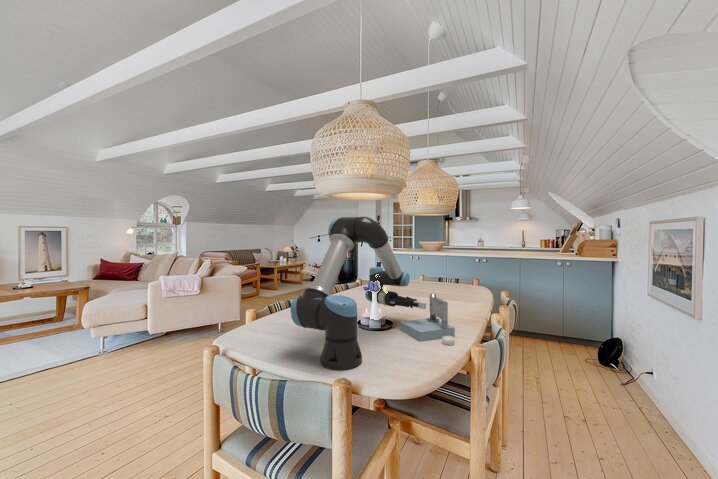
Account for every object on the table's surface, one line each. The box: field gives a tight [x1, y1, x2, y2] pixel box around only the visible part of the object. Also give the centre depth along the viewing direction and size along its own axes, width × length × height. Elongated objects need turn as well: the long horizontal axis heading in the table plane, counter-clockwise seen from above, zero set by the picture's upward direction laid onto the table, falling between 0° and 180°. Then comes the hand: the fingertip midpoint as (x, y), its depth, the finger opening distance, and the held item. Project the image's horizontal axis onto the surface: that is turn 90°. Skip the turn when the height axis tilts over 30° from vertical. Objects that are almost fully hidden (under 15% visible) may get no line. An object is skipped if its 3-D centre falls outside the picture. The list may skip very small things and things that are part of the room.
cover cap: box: [441, 336, 455, 346], centre depth 131 cm, size 5×5×2 cm
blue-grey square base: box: [399, 317, 456, 342], centre depth 145 cm, size 18×18×5 cm
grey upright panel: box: [429, 293, 449, 328], centre depth 145 cm, size 3×16×12 cm, turn 9°
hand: (425, 306), depth 144 cm, fingers closed
